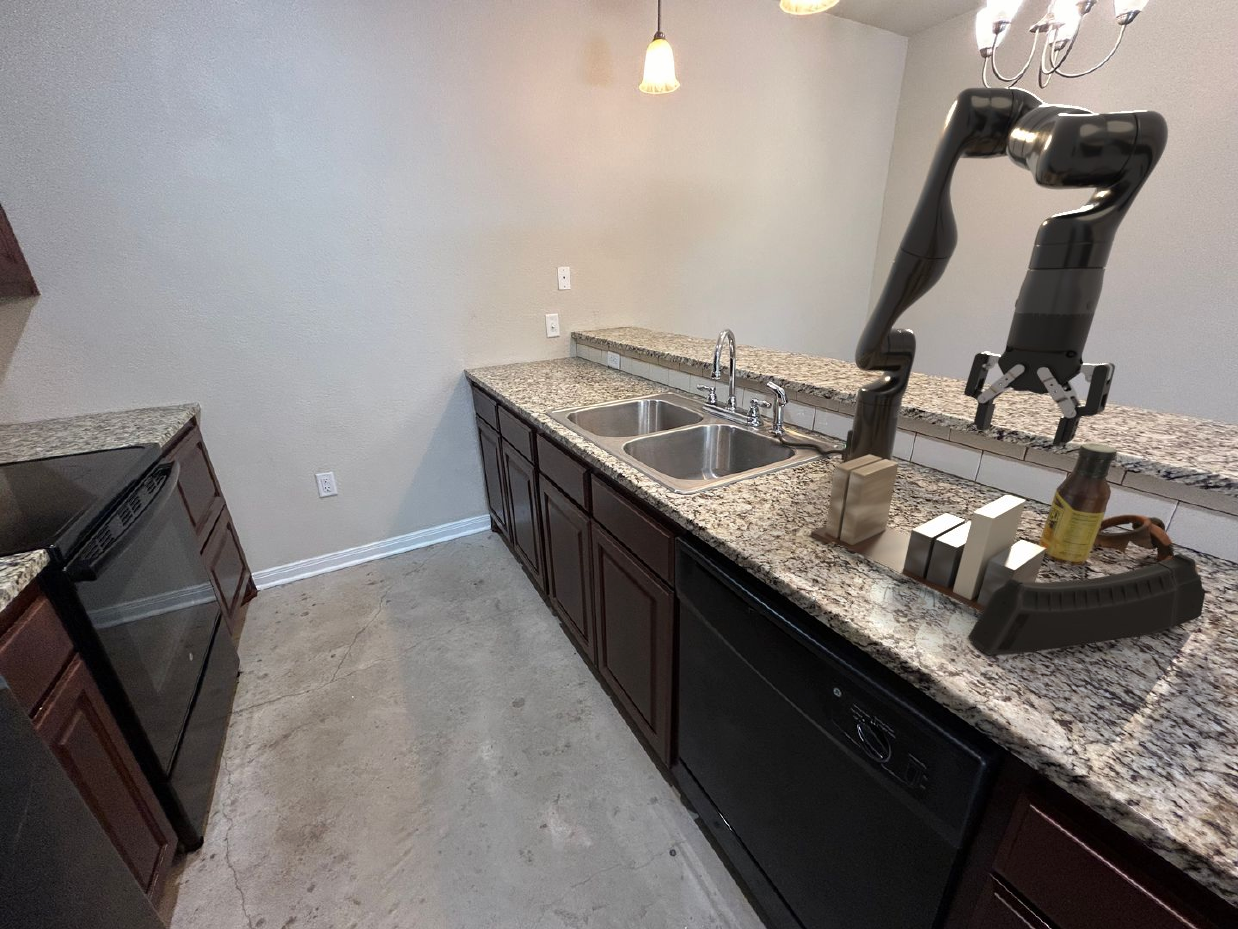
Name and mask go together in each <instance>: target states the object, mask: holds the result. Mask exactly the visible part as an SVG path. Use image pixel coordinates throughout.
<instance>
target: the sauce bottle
mask: <svg viewBox="0 0 1238 929" xmlns="http://www.w3.org/2000/svg"><path fill="white" fill-rule="evenodd" d="M1117 453H1118V451H1117V449H1116V448H1115V447H1113V446H1109V445H1107V444H1102V443H1095V442H1094V443H1093V442H1087V443H1082V444H1080V447H1079V449H1078V457H1077V459H1076V463H1075V465H1074V467H1073V470H1072V471H1071V472H1070V473H1069V475H1067V477H1066V478H1065V479H1064V480H1063V481H1062V482H1061V483H1060V484H1059V485H1058V486H1057V487H1056V489H1055V493H1054V494H1053V495H1054V496H1053V498H1052V502H1051V505H1050V508H1049V511H1048V513H1047V517H1046V519H1045V523H1044V527H1043V529H1042V533H1041V536H1040V539H1039V542H1038V546H1041V547H1044V548H1046V551H1045V554H1044V557H1045V558H1047V559H1050V560H1052V561H1054V562H1057V563H1060V564H1065V565H1066V564H1067V565H1071V566H1072V565H1073V566H1080V565H1081V566H1082V565H1085V564H1086V563H1087V560H1088V559H1089V557H1090V554H1091V551H1092V549H1093V547H1094V546H1093V544H1094V541H1095V538H1096V536H1097V533H1098V530H1099V528H1100V525H1101V522H1102V520H1104V517H1105V514H1106V511H1107V505H1108V503H1109V501H1110V498H1111V494H1112V491H1111V490H1112V489H1111V485H1109V483H1108V479H1107V477H1108V475H1109V470H1110V467H1111V465H1112V462H1113V461H1114V460H1115V459H1116V456H1117Z"/></svg>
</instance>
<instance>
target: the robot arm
mask: <svg viewBox="0 0 1238 929" xmlns="http://www.w3.org/2000/svg"><path fill="white" fill-rule="evenodd" d="M1168 138H1169V128H1168V123H1167V120H1166V119H1165V117H1164V116H1163V115H1162V113H1160V112H1158V111H1155V110H1134V111H1121V112H1119V111H1118V112H1107V113H1105V112H1104V113H1094V112H1092V111H1090V110H1088V109H1086V108H1082V107H1079V106H1072V105H1071V106H1070V105H1064V104H1048V103H1045V102H1043V100H1041V99H1040V98H1039V97H1037V96H1036V95H1035V94H1033V93H1031V92H1030V91H1028V90H1025V89H1022V88H1018V87H967V88H965V89H963V90H962V91H961V92H959V93H958V94H957V96H956V97H955V99H954V100H953V101H952V103H951V105H950V107H949V109H948V111H947V113H946V116H945V118H944V121H943V123H942V126H941V129H940V131H939V134H938V138H937V141H936V144H935V146H934V150H933V154H932V157H931V159H930V162H929V165H928V169H927V172H926V176H925V179H924V181H923V184H922V188H921V190H920V193H919V196H918V199H917V201H916V204H915V207H914V208H913V211H912V213H911V216H910V219H909V221H908V223H907V226H906V227H905V230H904V233H903V236H902V238H901V240H900V242H899V245H898V247H897V250H896V253H895V255H894V258H893V261H892V264H891V265H890V269H889V272H888V274H887V277H886V279H885V282H884V285H883V287H882V290H881V292H880V294H879V297H878V299H877V302H876V303H875V306H874V308H873V310H872V312H871V314H870V316H869V317H868V319H867V322H866V323H865V326H864V327H863V330H862V331H861V334H860V336H859V338H858V340H857V344H856V348H855V352H854V360H855V361H854V362H855V365H856V367H857V368H858V369H859V370H861V371H863V372H871V373H872V372H873V373H875V372H883V373H882V374H881V376H879V377H878V378H877V379H875V380H873V381H871V382H868V383H866V384H863V385H861V386H860V387H859V388H858V390H857V395H856V401H855V407H854V415H853V419H852V420H853V421H852V428H851V429H849V430H848V431H847V433H846V434H847V435H846V440H845V446H844V448H842V449H830V450H824V449H823V447H822V446H820V445H818V444H815V443H809V442H807V443H806V442H801V443H800V442H789V441H785V440H784V439H783V436H782V433H781V432H779V433H778V432H776V433H777V435H776V433H774V434H773V437H774V438H778V440H779V442H780V443H781V444H782V445H784V446H786V447H787V446H788V447H795V448H796V447H797V448H813V449H816V450H818V452H819V453H821V454H822V455H824V456H829V455H831V454H835V455H836V454H838V455H841V456H840V460H841V461H842V463H845V462H848V461H851V460H854V459H857V458H860V457H864V456H867V455H873V456H876V457H880V458H882V460H885V459H887V460H890V461H892V457H893V452H894V446H895V441H896V436H897V430H898V425H899V420H900V414H901V409H902V403H903V399H904V396H905V394H906V392H907V389H908V385H909V382H910V377H911V374H912V370H913V366H914V362H915V357H916V352H917V338H916V335H915V333H914V332H913V330H911V329H909V328H901V327H899V328H896V327H895V328H893V327H894V325H895V324H896V322H897V321H898V320H899V318H900V317H902V315H903V314H904V313H905V312H906V311H908V310H909V309H910V308H911V307H912V306H913V305H914V304H915V303H917V302H918V301H919V300H921V298H923V296H925V295H926V294H927V293H928V292H930V291H931V290H932V289H933V288H934V287H935V286H936V285H937V284H938V283H939V281H940V280H941V279H942V277H943V275H944V273H945V271H946V270H947V267H948V265H949V263H950V262H951V259H952V257H953V255H954V253H955V251H956V249H957V245H958V241H959V231H958V230H959V229H958V224H957V219H956V215H955V210H954V206H953V201H952V199H953V198H952V183H953V182H952V181H953V177H954V173H955V171H956V167H957V165H958V163H959V160H960V159H973V160H974V159H977V160H990V159H991V160H992V159H996V158H1003V157H1008V159H1009V160H1010V162H1011V163H1013V164H1014V165H1015V166H1016V167H1018V168H1021V169H1023V170H1026V171H1029V172H1030V173H1031V175H1032V177H1033V180H1034V183H1035V185H1037V186H1038V187H1041V188H1044V189H1047V190H1048V189H1049V190H1057V191H1058V190H1059V191H1060V190H1061V191H1062V190H1078V189H1079V190H1081V189H1083V190H1084V189H1094V191H1093V193H1092V194H1091V196H1090V197H1089V199H1088V200H1087V201H1086V203H1084V205H1083V206H1082V207H1081V208H1080V209H1077V210H1072V211H1068V212H1067V211H1066V212H1063V213H1059V214H1055V215H1052V216H1050V217H1047V218H1046V219H1044V220H1043V221H1042V222H1041V223H1040V225H1039V227H1038V228H1037V229H1038V230H1037V233H1036V235H1035V239H1034V243H1033V246H1032V250H1031V254H1030V257H1029V258H1030V259H1029V263H1028V266H1027V270H1026V274H1025V276H1024V279H1023V281H1022V284H1021V286H1020V289H1019V293H1018V296H1017V298H1016V300H1015V303H1014V311H1013V316H1012V321H1011V324H1010V328H1009V332H1008V336H1007V340H1006V343H1005V349H1004V351H1003V353H1001V354H996V353H993V352H992V351H989V350H988V351H982V352H977V353H976V354H975V355H974V357H973V361H972V364H971V368H970V371H969V374H968V377H967V381H966V384H965V388H964V391H963V393H964V396H966V397H971V398H973V399H974V400H976V401H977V407H976V411H975V415H974V420H973V424H974V426H976V430H977V431H980V432H981V431H982V432H984V431H987V430H989V429H990V427H991V424H992V420H993V416H994V412H995V409H996V405H997V403H996V402H994V401H995V400H996V399H997V398H998V397H1000V396H1001V395H1003V394H1004V393H1005V392H1007V391H1009V390H1010V389H1012V390H1013V391H1016V392H1031V393H1033V394H1035V395H1046V394H1049V395H1050V397H1051V400H1053V402H1055V403H1056V404H1057V406H1058V408H1059V409H1060V412H1061V413H1062V414H1063V416H1060V417H1059V421H1058V424H1057V427H1056V431H1055V434H1054V437H1053V440H1052V446H1054V447H1059V448H1060V447H1063V446H1065V445H1066V444H1068V443H1070V442H1072V441H1073V439H1075V436H1076V433H1077V430H1078V427H1079V423H1080V421H1081V418H1083V417H1093V416H1096V415H1098V414H1100V413H1103V412H1104V411H1105V409H1106V407H1107V401H1108V398H1109V394H1110V391H1111V390H1110V389H1111V386H1112V382H1113V377H1114V374H1115V369H1116V365H1115V364H1114V363H1112V362H1104V363H1102V364H1101V363H1100V364H1099V363H1084V361H1083V354H1084V350H1085V346H1086V343H1087V340H1088V337H1089V333H1090V330H1091V327H1092V324H1093V321H1094V317H1095V315H1096V311H1097V308H1098V305H1099V301H1100V297H1101V295H1102V290H1103V287H1104V286H1103V284H1104V277H1105V271H1106V267H1107V265H1108V261H1109V257H1110V255H1111V250H1112V248H1113V245H1114V241H1115V239H1116V238H1115V237H1116V235H1117V232H1118V230H1119V227H1120V225H1121V224H1122V222H1123V221H1124V219H1125V217H1126V216H1127V214H1128V212H1129V210H1130V209H1131V208H1132V205H1133V204H1134V202H1135V200H1136V198H1137V196H1138V195H1139V194H1140V192H1141V190H1142V189H1143V187H1144V185H1145V184H1146V183H1147V181H1148V180H1149V178H1150V177H1151V175H1152V173H1153V172H1154V171H1155V169H1156V167H1157V165H1158V164H1159V162H1160V160H1161V158H1162V157H1163V155H1164V152H1165V151H1166V147H1167V144H1168ZM996 364H997V365H998V368H999V370H1000V371H1001V373H1002V376H1001V377H999V378H998V379H997V380H996V381H995V382H993V383H992V384H990V386H989V387H988V388H986V389H984V386H985V383H986V380H987V377H988V373H989V370H992V369H993V368H994V367H995V365H996ZM1081 373H1082V374H1084V380H1085V381H1086V382H1087V383H1090V384H1089V386H1088V391H1087V392H1088V393H1087V396H1086V399H1085V400H1086V401H1085V404H1082V402H1080V399H1079V398H1078V396H1077V391H1076V390H1075V387H1074V386H1073V385H1072V383H1071V381H1072V380H1073V379H1074V378H1075V377H1077V376H1079V374H1081Z"/></svg>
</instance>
